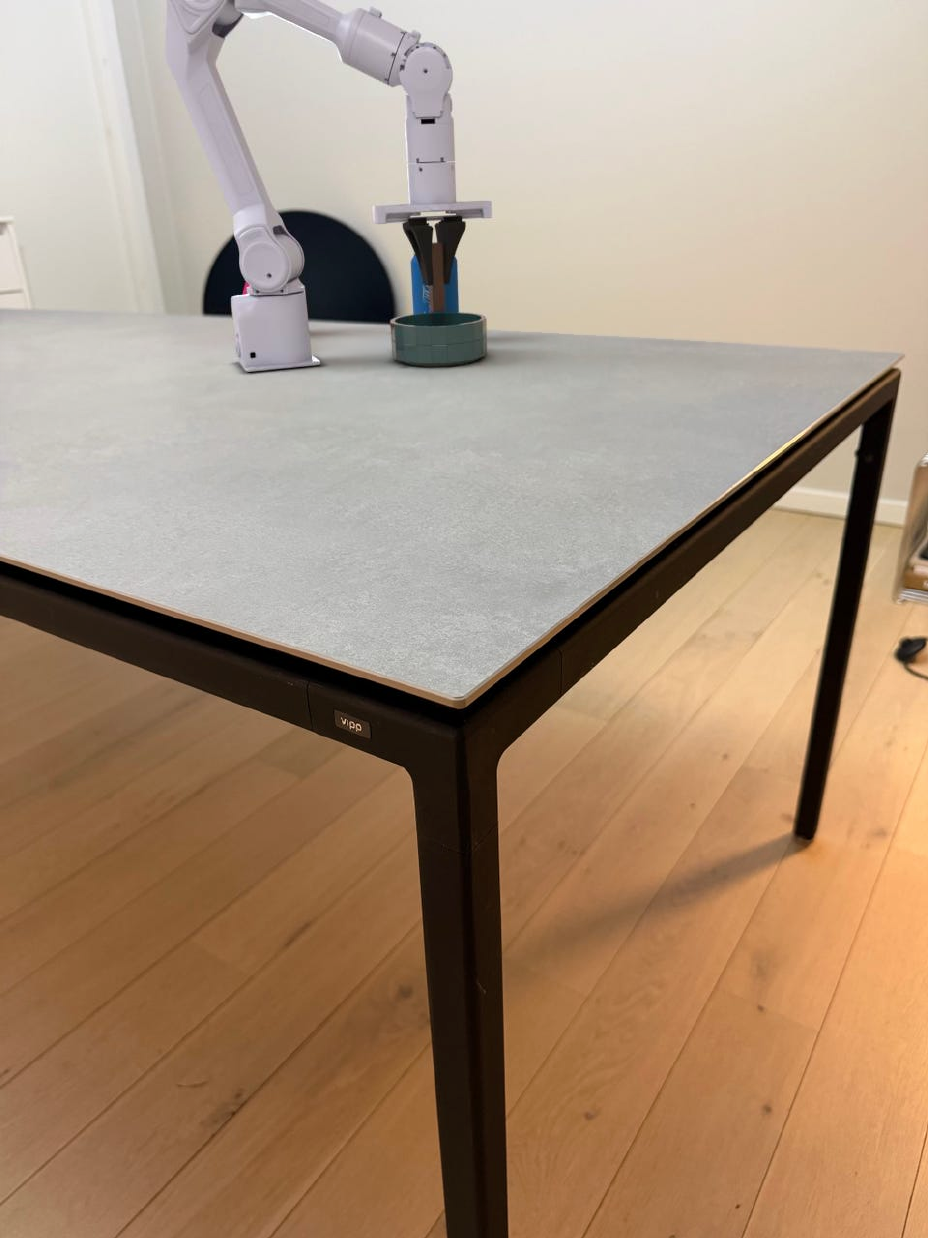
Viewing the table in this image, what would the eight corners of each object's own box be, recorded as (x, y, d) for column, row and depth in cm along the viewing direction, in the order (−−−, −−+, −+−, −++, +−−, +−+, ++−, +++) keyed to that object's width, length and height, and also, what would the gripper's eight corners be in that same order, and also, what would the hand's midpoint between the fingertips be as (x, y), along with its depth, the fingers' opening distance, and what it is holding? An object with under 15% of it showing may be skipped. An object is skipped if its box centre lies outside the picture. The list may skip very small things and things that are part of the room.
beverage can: (409, 344, 129) (404, 253, 124) (421, 337, 135) (417, 249, 130) (453, 345, 128) (450, 252, 123) (464, 337, 134) (461, 248, 128)
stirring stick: (433, 312, 115) (430, 243, 112) (429, 310, 117) (426, 242, 113) (445, 310, 116) (442, 242, 112) (441, 309, 117) (438, 241, 114)
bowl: (408, 371, 112) (406, 329, 110) (382, 355, 123) (379, 316, 120) (501, 362, 116) (500, 321, 114) (467, 347, 126) (466, 309, 124)
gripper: (380, 164, 103) (389, 291, 109) (500, 159, 108) (502, 282, 114) (365, 165, 109) (373, 285, 115) (479, 160, 114) (481, 277, 120)
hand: (436, 284), depth 115 cm, fingers closed on stirring stick, 1 cm apart
